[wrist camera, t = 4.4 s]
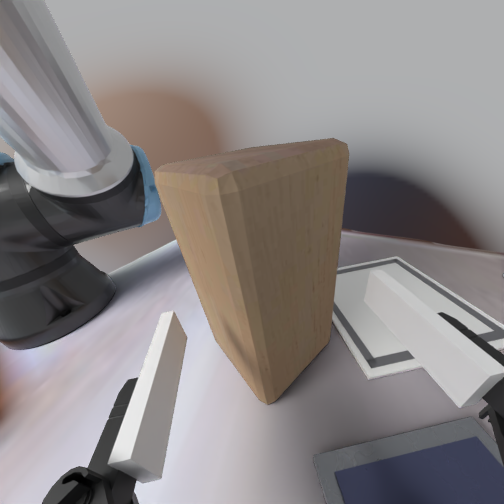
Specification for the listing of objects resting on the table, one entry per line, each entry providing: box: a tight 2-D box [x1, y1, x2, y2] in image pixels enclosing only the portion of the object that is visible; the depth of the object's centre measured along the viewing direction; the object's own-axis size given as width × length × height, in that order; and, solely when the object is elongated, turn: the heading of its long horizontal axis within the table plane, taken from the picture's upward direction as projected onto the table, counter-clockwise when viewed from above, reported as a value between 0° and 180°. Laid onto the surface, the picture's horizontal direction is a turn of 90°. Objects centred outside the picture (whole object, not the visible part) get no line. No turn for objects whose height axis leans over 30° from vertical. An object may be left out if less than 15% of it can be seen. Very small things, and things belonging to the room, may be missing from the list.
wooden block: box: [155, 138, 349, 405], centre depth 18 cm, size 10×10×20 cm
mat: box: [332, 256, 504, 380], centre depth 25 cm, size 16×16×1 cm
